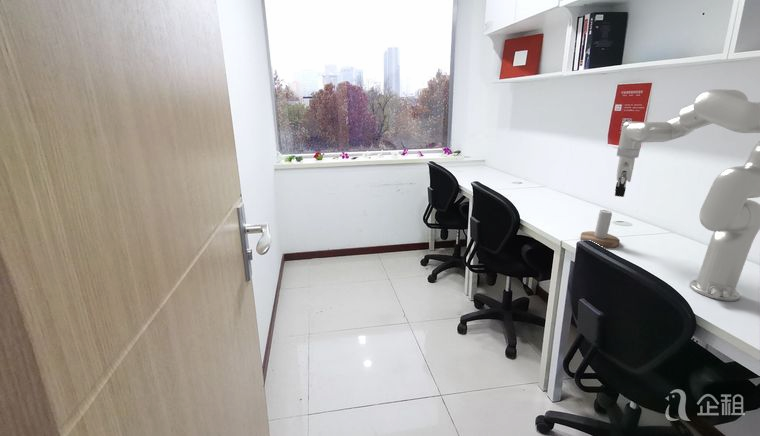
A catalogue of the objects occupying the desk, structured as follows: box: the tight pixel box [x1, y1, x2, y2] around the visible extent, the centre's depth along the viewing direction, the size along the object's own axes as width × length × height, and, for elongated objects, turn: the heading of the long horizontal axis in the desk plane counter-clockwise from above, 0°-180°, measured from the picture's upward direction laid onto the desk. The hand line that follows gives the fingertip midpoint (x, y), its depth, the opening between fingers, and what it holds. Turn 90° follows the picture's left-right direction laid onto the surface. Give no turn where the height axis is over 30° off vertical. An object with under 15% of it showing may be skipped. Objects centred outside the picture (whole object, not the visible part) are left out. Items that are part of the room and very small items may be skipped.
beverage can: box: [594, 209, 613, 239], centre depth 162 cm, size 5×5×12 cm
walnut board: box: [579, 230, 621, 249], centre depth 165 cm, size 15×15×2 cm
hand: (619, 194), depth 156 cm, fingers open, 9 cm apart
